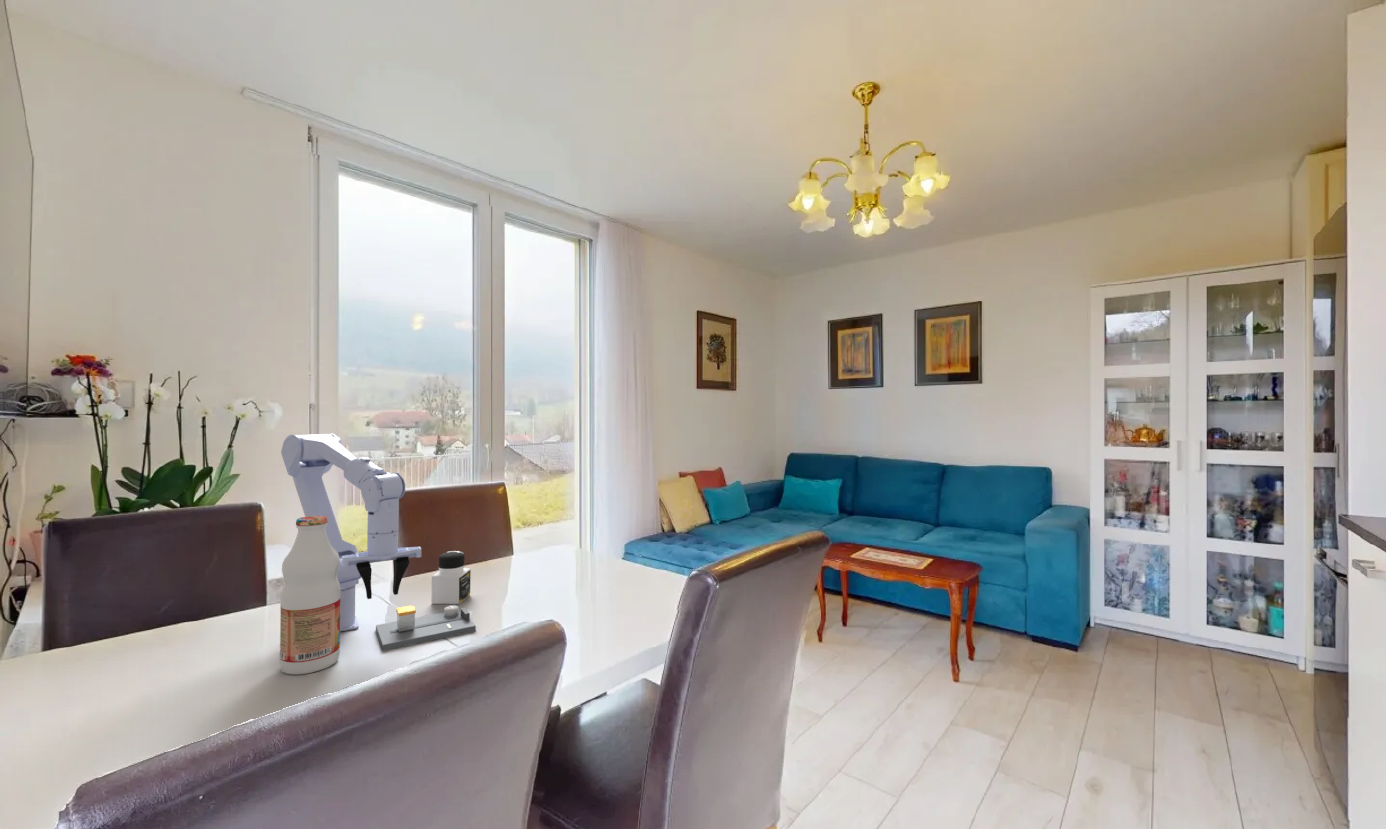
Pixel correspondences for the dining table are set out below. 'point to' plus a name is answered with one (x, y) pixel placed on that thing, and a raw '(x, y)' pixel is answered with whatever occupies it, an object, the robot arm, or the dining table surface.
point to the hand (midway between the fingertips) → (382, 595)
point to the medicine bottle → (451, 579)
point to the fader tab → (405, 618)
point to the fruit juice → (310, 601)
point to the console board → (426, 628)
